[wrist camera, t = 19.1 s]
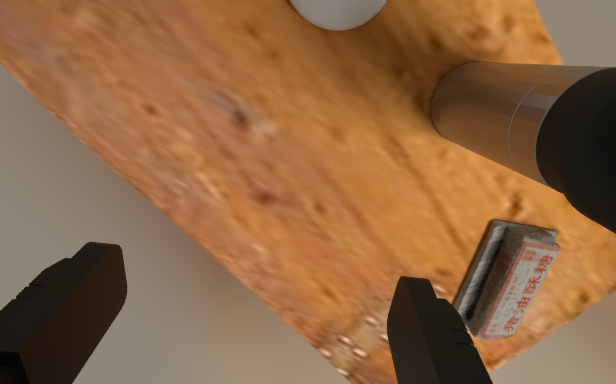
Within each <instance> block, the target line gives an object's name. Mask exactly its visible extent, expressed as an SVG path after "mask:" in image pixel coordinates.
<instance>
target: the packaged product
mask: <svg viewBox="0 0 616 384" xmlns="http://www.w3.org/2000/svg"><path fill="white" fill-rule="evenodd" d="M557 234H558V232H556V231H552V230H547V229H543V228H538V227H533V226H527V225H520V224H515V223H510V222H505V221H499V220H494V221H493V222H492V224H491V227H490V229H489V231H488V233H487V236H486V238H485V240H484V242H483V244H482V246H481V248H480V250H479V252H478V254H477V256H476V258H475V260H474V262H473V264H472V266H471V269H470V271H469V273H468V275H467V277H466V279H465V281H464V283H463V286H462V288H461V290H460V292H459V294H458V297H457V299H456V301H455V304H454V306H453V307H454V308H455V309H456V310H457V311H458V312H459V314H460V315H461V318H462V320H463V322H464V324H465V326H466V328H467V331H470V332H471V333H472V335H473V336H474V337H478V338H483V339H486V340H495V339H500V338H507V337H511V336H512V335H513V334H514V332H515V330H516V328H517V327H518V325H519V323H520V322H521V319H522V318H523V316H524V315H525V312H526V310H527V309H528V307H529V305H530V304H531V302H532V300H533V298H534V296H535V295H536V293H537V291H538V289H539V287H540V286H541V284H542V282H543V280H544V278H545V277H546V275H547V273H548V271H549V269H550V267H551V266H552V264H553V262H554V261H555V259H556V257H557V256H558V253H559V252H560V248H561V247H560V246H559V245H558V244H557V243H556V242H555V238H556V236H557Z"/></svg>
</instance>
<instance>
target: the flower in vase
mask: <svg viewBox="0 0 616 384" xmlns="http://www.w3.org/2000/svg"><path fill="white" fill-rule="evenodd" d="M289 1H290V2H291V4H292V5H293V7H294V8H295V9H296V10H297V12H298V13H299V14H300V15H301V16H302V17H304V18H305V19H306V20H307V21H309V22H310V23H312V24H314V25H316V26H318V27H321V28H324V29H328V30H336V31H341V30H348V29H352V28H356V27H358V26H360V25H362V24H364V23H366V22H367V21H369V20H370V19H371V18H373V17H374V16H375V15H376V14H377V13H378V12H379V11H380V10H381V8H382V7H383V6H384V5H385V3H386V1H387V0H289Z"/></svg>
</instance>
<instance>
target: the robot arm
mask: <svg viewBox="0 0 616 384" xmlns="http://www.w3.org/2000/svg"><path fill="white" fill-rule="evenodd" d="M431 118H432V121H433V124H434V126H435V128H436V130H437V131H438V132H439V133H440V134H441V135H442V136H443V137H444V138H446V139H448V140H449V141H452V142H454V143H456V144H458V145H460V146H462V147H464V148H466V149H468V150H470V151H473V152H475V153H477V154H479V155H481V156H483V157H485V158H488V159H490V160H492V161H494V162H496V163H498V164H500V165H503V166H505V167H507V168H509V169H511V170H513V171H516V172H518V173H520V174H522V175H524V176H526V177H528V178H531V179H533V180H535V181H537V182H540V183H542V184H544V185H546V186H548V187H550V188H552V189H555V190H556V191H558V192H560V193H562V194H564V196H565V197H566V199H567V200H568V201H569V203H570V204H571V205H572V206H573V207H574V208H575V209H576V210H577V211H579V212H580V213H581V214H583V215H584V216H586V217H588V218H589V219H591V220H593V221H595V222H596V223H598V224H600V225H602V226H603V227H605V228H607V229H609V230H610V231H612V232H614V233H615V234H616V67H595V66H565V65H539V64H513V63H492V62H471V63H466V64H463V65H460V66H458V67H456V68H455V69H453V70H451V71H450V72H449V73H448V74H447V75H446V76H445V77H444V78H443V79H442V80H441V82H440V83H439V84H438V86H437V88H436V90H435V92H434V95H433V98H432V102H431ZM126 296H127V281H126V274H125V268H124V261H123V254H122V249H121V247H120V246H119V245H116V244H106V243H97V242H89V243H86V244H85V245H84V246H83V247H82V248H81V249H80V250H79V251H78V252H77V253H76V254H75V255H74V256H73V257H72V258H65V259H62V260H61V261H59V262H57V263H55V264H53V265H52V266H50V267H48V268H46V269H45V270H43V271H42V272H41V273H40V274H39V275H38V276H37V277H36V278H35V279H34V280H33V281H32V282H31V283H30V284H29V287H25V288H24V289H23V290H22V291H21V292H20V293H19V294H18V295H17V296H16V299H13V300H11V301H10V302H9V303H8V304H7V305H6V306H5V307H4V308H3V309H2V310H1V311H0V384H72V383H73V382H74V380H75V379H76V377H77V375H78V374H79V372H80V371H81V369H82V368H83V366H84V365H85V363H86V362H87V360H88V358H89V357H90V356H91V354H92V353H93V351H94V350H95V348H96V346H97V345H98V344H99V342H100V341H101V339H102V337H103V336H104V335H105V333H106V332H107V330H108V329H109V327H110V326H111V324H112V322H113V321H114V320H115V318H116V316H117V315H118V313H119V312H120V310H121V309H122V307H123V305H124V303H125V299H126ZM387 335H388V340H389V345H390V349H391V354H392V359H393V363H394V368H395V372H396V377H397V381H398V384H493V383H492V381H491V379H490V376H489V374H488V372H487V370H486V368H485V366H484V364H483V362H482V360H481V357H480V355H479V353H478V351H477V349H476V348H475V347H474V343H473V341H472V339H471V336H470V334H469V333H467V328H466V326H465V324H464V322H463V320H462V318H461V315H460V314H459V312H458V311H457V310H456V309H455V308H454V307H453V306H452V305H451V304H450V303H449V302H448V301H447V300H446V299H440V298H437V297H436V295H435V292H434V290H433V287H432V285H431V283H430V281H429V280H428V279H424V278H415V277H406V276H401V277H400V278H399V280H398V283H397V287H396V290H395V293H394V297H393V300H392V303H391V307H390V310H389V314H388V319H387Z"/></svg>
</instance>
